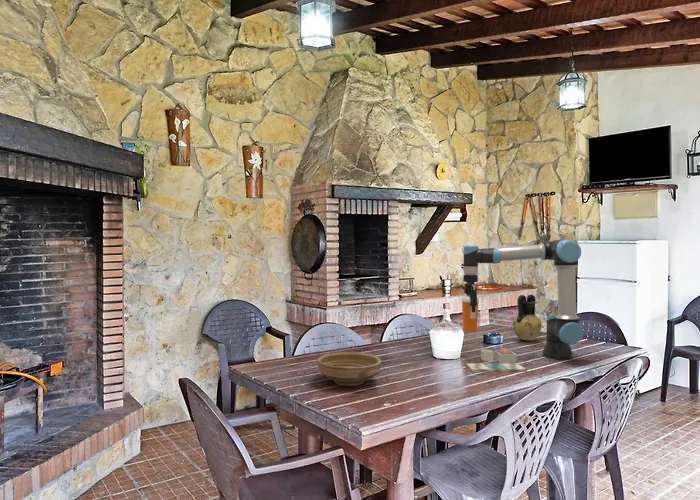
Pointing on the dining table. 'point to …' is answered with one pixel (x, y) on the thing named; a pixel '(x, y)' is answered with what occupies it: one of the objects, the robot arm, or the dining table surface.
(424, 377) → the dining table surface
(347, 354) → the ceramic bowl
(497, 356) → the dome collar
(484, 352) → the die
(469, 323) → the shaker bottle
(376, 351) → the dining table surface
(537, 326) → the amphora
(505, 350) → the dome button
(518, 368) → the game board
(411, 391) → the dining table surface
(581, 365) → the dining table surface
